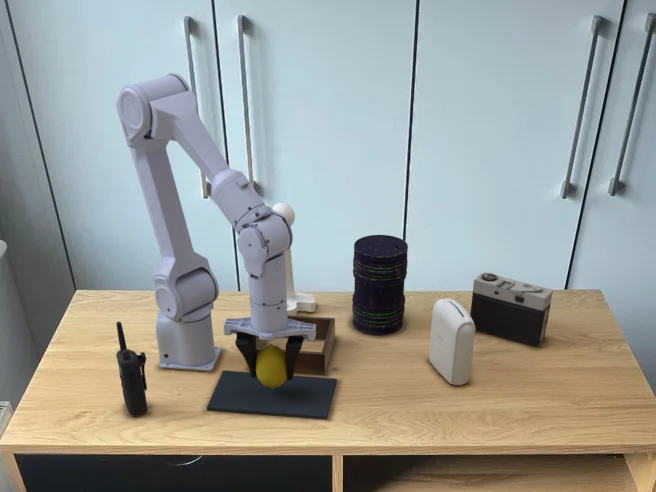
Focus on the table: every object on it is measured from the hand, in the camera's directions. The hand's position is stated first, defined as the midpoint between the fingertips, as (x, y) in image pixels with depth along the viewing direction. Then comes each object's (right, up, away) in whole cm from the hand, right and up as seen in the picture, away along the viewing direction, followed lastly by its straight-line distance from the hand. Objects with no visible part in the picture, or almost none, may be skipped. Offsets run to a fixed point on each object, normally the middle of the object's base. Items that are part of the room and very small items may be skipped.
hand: (272, 375), depth 142 cm
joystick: (+1, +18, +24) cm, 30 cm away
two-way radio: (-22, -6, 0) cm, 22 cm away
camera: (+43, +13, +20) cm, 50 cm away
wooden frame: (+3, +7, +13) cm, 15 cm away
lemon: (0, -2, +2) cm, 3 cm away
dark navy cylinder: (+18, +15, +21) cm, 32 cm away
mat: (0, -3, +3) cm, 4 cm away
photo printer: (+30, +3, +9) cm, 32 cm away
